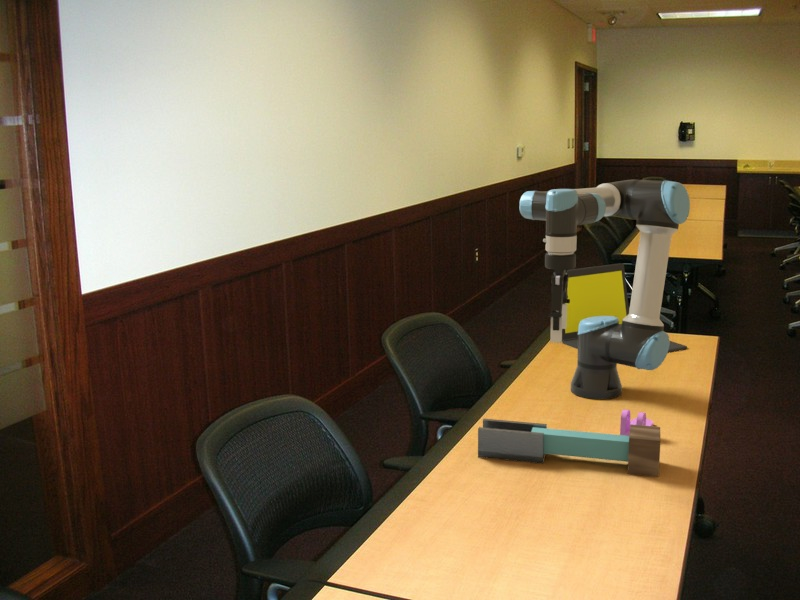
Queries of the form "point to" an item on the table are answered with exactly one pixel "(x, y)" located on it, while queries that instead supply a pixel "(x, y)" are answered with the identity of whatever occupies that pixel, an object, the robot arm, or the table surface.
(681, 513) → the table surface
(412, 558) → the table surface
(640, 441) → the socket block
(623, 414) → the bracket
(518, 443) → the sleeve
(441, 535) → the table surface
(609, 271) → the laptop
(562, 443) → the bar
